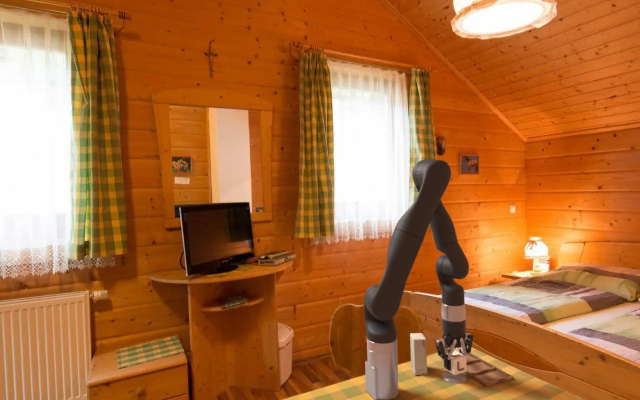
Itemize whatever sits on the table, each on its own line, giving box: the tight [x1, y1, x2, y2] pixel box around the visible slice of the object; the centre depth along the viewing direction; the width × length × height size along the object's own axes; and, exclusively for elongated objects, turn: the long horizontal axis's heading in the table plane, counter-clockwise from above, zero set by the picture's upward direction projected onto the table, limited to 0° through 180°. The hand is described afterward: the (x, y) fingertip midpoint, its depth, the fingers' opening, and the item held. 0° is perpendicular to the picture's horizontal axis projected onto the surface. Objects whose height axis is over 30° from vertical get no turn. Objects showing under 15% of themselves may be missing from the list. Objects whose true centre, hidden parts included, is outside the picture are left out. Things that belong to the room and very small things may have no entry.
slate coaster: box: [441, 370, 468, 384], centre depth 130 cm, size 8×8×1 cm
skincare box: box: [409, 332, 428, 376], centre depth 135 cm, size 6×4×12 cm
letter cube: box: [443, 350, 467, 375], centre depth 129 cm, size 5×5×5 cm
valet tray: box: [440, 352, 515, 387], centre depth 135 cm, size 11×22×1 cm, turn 21°
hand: (455, 367), depth 129 cm, fingers closed on letter cube, 5 cm apart
